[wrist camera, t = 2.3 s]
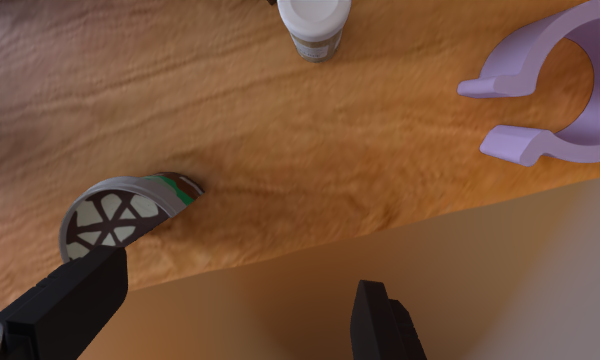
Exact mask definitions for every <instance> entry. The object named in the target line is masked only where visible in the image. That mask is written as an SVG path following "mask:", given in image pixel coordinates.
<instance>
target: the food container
mask: <svg viewBox="0 0 600 360" xmlns="http://www.w3.org/2000/svg"><path fill="white" fill-rule="evenodd" d="M203 193H205V191H204V190H203V189H202V188H201V187H200V186H199V184H197V183H196V182H194V181H193V180H191V179H190V178H188V177H187V176H184V175H181V174H178V173H174V172H160V173H157V174H153V175H149V176H145V177H141V178H140V177H132V176H120V177H114V178H109V179H106V180H104V181H101V182H99V183H97V184H96V185H94V186H92V187H91V188H89V189H88V190H87V191H86V192H84V193H83V194H82V195H81V196H80V197H78V198H77V199H76V200H75V201H74V203H73V204H72V205H71V206H70V208H69V210H68V211H67V212H66V214H65V216H64V218H63V220H62V223H61V227H60V232H59V249H60V253H61V258H62V260H63V263H64V264H65V263H67V262H69V261H71V260H74V259H76V258H78V257H83V256H85V255H86V254H87V253H88V252H90V251H91V250H92V249H93V248H95V247H96V246H97V245H100V244H102V245H110V246H117V247H123V248H125V247H126V246H128V245H129V244H131V243H132V242H134V241H136V240H137V239H138V238H140V237H141V236H143V235H144V234H146V233H147V232H149V231H151V230H153V228H155V227H156V226H158V225H159V224H161V223H162V222H163V221H165V220H167V219H168V218H169V217H171V218H173V217H174V216H175V215H177V214H178V213H179V212H181V211H182V210H183V209H185V208H186V207H187V206H188V205H189V204H191V203H192V202H193V201H194V200H196V199H197V198H198V197H200V196H201V195H202V194H203Z"/></svg>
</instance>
